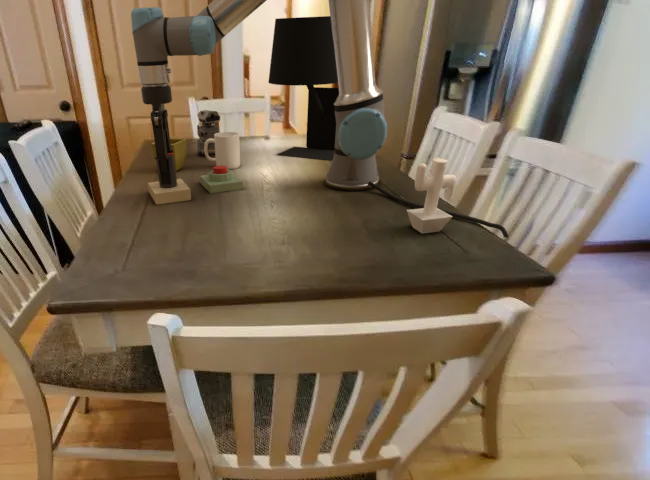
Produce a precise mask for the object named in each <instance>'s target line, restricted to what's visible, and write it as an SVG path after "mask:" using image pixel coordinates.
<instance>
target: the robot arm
mask: <svg viewBox="0 0 650 480" xmlns="http://www.w3.org/2000/svg"><path fill="white" fill-rule="evenodd" d="M265 2H267V0H212V1H211V2H210V3H209V4H208V5H207V6H206V7H205V8H203V9H202V10H201V11H200V12H199V13H197V14H196V15H189V16H188V15H187V16H176V17H175V16H173V17H169V16H168V17H167V16H164V14H163V9H162V8H161V7H158V6H157V7H156V6H153V7H135V8H133V9H131V12H130V19H131V34H132V38H133V43H134V50H135V56H136V61H137V62H136V63H137V72H138V79H139V84H140V85H142V86H141V88H140V93H141V98H142V103H143V104H144V105H151V109H152V110H151V111H150V121H151V125H152V132H153V133H152V134H153V140H154V142H155V148H156V157H155V156H154V160H155V161H156V160H158V161H159V168H160V176H161V183H162V185H166V184H172V182H171V174H170V166H169V158H168V156H167V153H173V150H170V149H171V143H170V139H171V137H170V135H171V134H170V129H169V119H168V117H169V113H168V109H167V108H165V104H170V103H172V102H173V95H172V87H171V85H170V84H169V83H170V82H171V78H170V74H171V73H172V69H171V68H169V60H168V57H174V56H180V57H181V56H182V57H183V56H187V57H189V56H198V57H201V56H206V55H212V54H214V52H215V49H216V46H217V44H218V43H219V42H220V41H222V40H223V39H224V38H225V37H226V36H227V35H228V34H229V33H230V32H231V31H233V30H234V29H235V28H236V27H237V26H238V25H240V24H241V23H242V22H243V21H244V20H246V19H247V18H249V16H250V15H251V14H252V13H254V12H255V11H256V10H257V9H258V8H260V7H261V6H262V5H263V4H264V3H265ZM370 3H371V2H370V0H328V7H329V16H330V17H331V26H332V35H333V44H334V52H335V61H336V70H337V79H338V83H337V88H339V96H338V97H337V99H336V101H335V102H334V108H335V117H336V136H335V150H334V157H333V160H332V161H331V162H330V166H329V169H328V171H327V173H326V176H325V177H326V178H325V185H326V186H328V187H329V188H332V189H335V190H340V191H349V192H350V191H351V192H353V191H355V192H356V191H367V190H370V189H375V190H376V191H379V192H380V193H382V194H383V195H385V196H387V197H389V198H391V199H392V200H395V201H397V202H400V203H402V204H405V205H408V206H410V207H414V208H416V209H420V208H424V204H420V203H416V202H414V201H410V200H407V199H405V198H403V197H399V196H398V195H395V194H393V193H391V192H389V191H387V190H386V189H384V188H383V187H381V186H380V185H379V181H380V175H379V171H378V163H377V158H376V157H377V156H376V154H377V153H379V151H380V150H381V149H382V147H384V144H385V141H386V139H387V135H388V123H387V119H386V118H385V103H384V91H383V90H382V88H380V87H379V86H377V84H376V73H375V72H376V71H375V60H374V59H375V58H374V48H373V47H374V46H373V45H374V44H373V32H372V19H371V17H372V16H371V4H370ZM160 153H161V154H160ZM441 210H442V211H444V212H445V213H447V214H449V215H451V216H453V217H452V218H458V219H461V220H465V221H469V222H473V223H476V224H480V225H483V226H486V227H488V228H491V229H492V228H493V229H496V230H499V231H500V232H501V234H502V235H503V237H504V238H506V239H509V238H510V236H509V232H508V231H507V229H506V228H505V227H504V226H503V225H501V224H500V223H493V222H489V221H487V220H484V219H481V218H477V217H474V216H469V215H466V214H461V213H457V212H454V211H449V210H444V209H441Z"/></svg>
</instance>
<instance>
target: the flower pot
mask: <svg viewBox="0 0 650 480" xmlns="http://www.w3.org/2000/svg"><path fill="white" fill-rule="evenodd" d="M170 143H171V149H170V150H173V154H174V162H175V170H176V172H177V171H179V170H180V169H182V168H183V167H184V165H185V161H186V157H187V138H170ZM150 145H151V149H152V153H153V155H154V157H155V156H156V148H155V141H154V142H151V143H150ZM160 154H161V153H160Z"/></svg>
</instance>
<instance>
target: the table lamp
mask: <svg viewBox="0 0 650 480" xmlns="http://www.w3.org/2000/svg"><path fill="white" fill-rule="evenodd" d="M270 55H271V56H270V57H271V58H270V65H269V66H270V67H269V73H268V82H267V83H268V84H270V85H276V86H306V88H307V90H308V92H307V94H308V95H307V118H306V140H305V141H306V143H305V147H303V146H293V147H290V148H288V149H286V150H284V151H280V152H278V153H277V154H276V155H277V156H282V157H283V156H284V157H293V158H302V159H312V160H321V161H322V160H323V161H330V162H332V160H333V157H334V150H335V136H336V117H335V108H334V102H335V101H336V99H337V97H338V96H339V88H338V87H323V86H322V85H333V84H334V85H335V84H338V79H337V70H336V61H335V52H334V44H333V35H332V26H331V17H330V15H325V16H322V15H321V16H307V17H306V16H301V17H285V18H284V17H282V18H275V20H274V29H273V39H272V46H271V54H270ZM315 86H317V87H315ZM318 86H319V87H318Z"/></svg>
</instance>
